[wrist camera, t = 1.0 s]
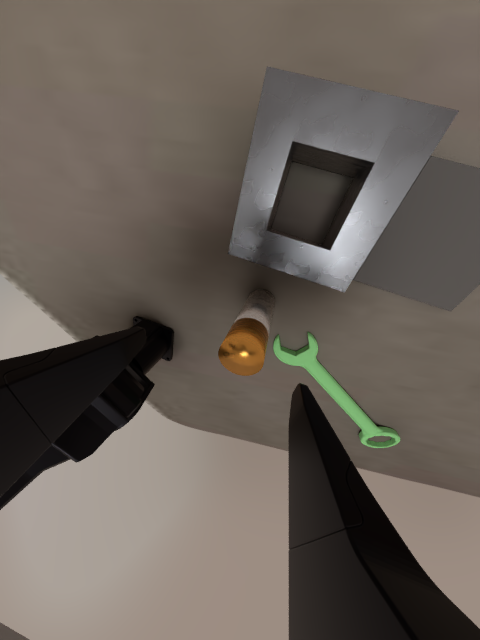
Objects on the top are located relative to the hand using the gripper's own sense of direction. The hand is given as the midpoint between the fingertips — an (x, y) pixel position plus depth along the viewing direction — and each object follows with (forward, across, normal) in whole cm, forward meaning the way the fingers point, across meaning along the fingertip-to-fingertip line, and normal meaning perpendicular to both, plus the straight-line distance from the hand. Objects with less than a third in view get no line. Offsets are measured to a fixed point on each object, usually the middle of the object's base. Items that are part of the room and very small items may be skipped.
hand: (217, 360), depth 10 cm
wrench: (+13, -15, +11) cm, 23 cm away
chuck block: (+12, -2, -9) cm, 15 cm away
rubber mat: (+12, -14, -8) cm, 20 cm away
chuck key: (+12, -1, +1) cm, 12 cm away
